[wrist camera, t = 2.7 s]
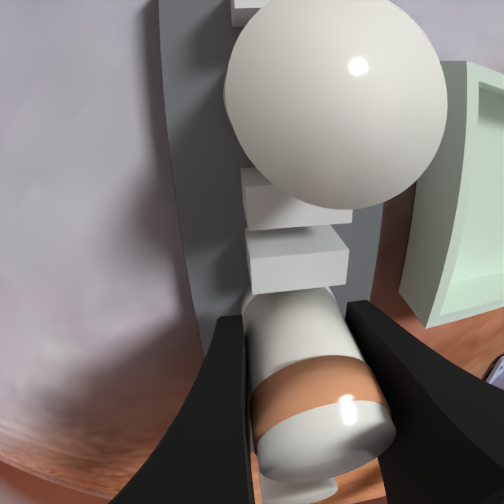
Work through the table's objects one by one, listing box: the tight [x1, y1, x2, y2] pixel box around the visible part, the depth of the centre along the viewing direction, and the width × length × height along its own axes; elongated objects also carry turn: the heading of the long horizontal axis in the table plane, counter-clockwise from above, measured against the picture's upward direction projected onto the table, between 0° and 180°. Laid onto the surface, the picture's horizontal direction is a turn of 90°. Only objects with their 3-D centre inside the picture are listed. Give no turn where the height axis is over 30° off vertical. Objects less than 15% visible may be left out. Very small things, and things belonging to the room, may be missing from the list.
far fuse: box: [256, 456, 338, 504], centre depth 11 cm, size 3×3×4 cm
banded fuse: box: [241, 284, 396, 483], centre depth 8 cm, size 3×3×6 cm
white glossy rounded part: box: [223, 0, 448, 210], centre depth 5 cm, size 3×3×4 cm
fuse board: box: [159, 0, 384, 452], centre depth 10 cm, size 21×6×3 cm, turn 3°
